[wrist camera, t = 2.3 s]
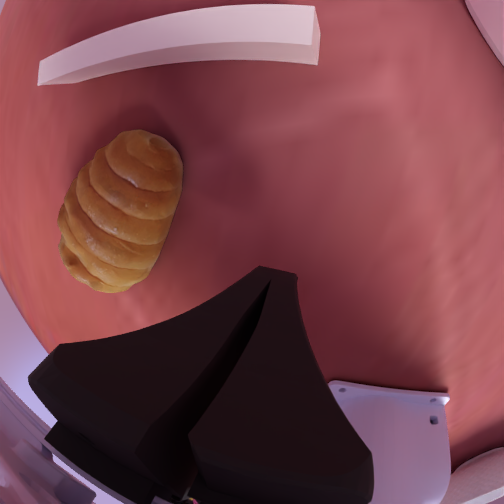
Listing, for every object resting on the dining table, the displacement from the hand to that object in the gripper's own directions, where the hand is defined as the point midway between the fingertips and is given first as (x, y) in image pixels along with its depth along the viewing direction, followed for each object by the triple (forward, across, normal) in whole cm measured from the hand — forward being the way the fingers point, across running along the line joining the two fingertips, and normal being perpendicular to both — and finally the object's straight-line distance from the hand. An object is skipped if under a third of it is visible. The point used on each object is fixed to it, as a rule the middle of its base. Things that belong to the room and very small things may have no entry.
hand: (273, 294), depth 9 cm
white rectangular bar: (+4, +7, -9) cm, 12 cm away
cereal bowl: (+4, -32, +24) cm, 40 cm away
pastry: (+4, +10, 0) cm, 11 cm away
